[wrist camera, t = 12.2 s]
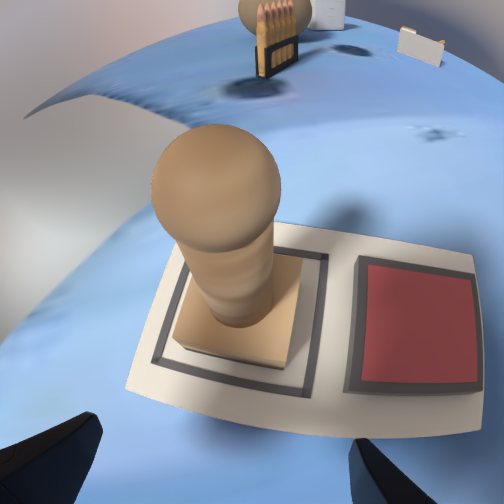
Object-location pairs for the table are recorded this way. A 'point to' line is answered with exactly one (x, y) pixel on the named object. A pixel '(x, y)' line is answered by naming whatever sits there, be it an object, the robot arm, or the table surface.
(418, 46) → the model
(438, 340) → the ink pad
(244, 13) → the brown grooved ball
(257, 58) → the ammunition clip
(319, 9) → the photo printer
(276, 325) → the stamp
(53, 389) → the table surface
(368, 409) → the stamping board
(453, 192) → the table surface
